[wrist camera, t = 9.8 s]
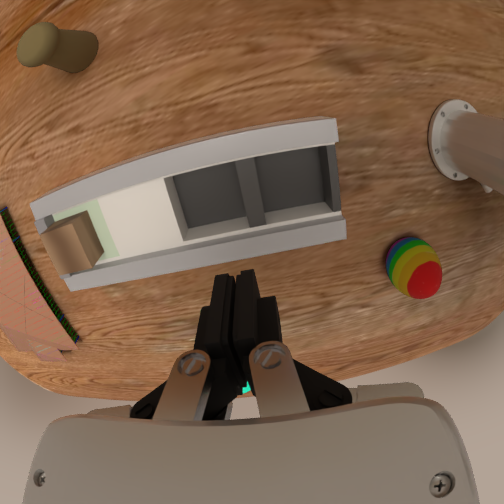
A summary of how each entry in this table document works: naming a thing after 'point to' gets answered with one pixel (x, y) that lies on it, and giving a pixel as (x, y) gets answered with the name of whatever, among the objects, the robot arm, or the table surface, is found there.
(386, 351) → the table surface
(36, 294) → the house
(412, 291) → the decorative egg
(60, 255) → the walnut block
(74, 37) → the olive pawn
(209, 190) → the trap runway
